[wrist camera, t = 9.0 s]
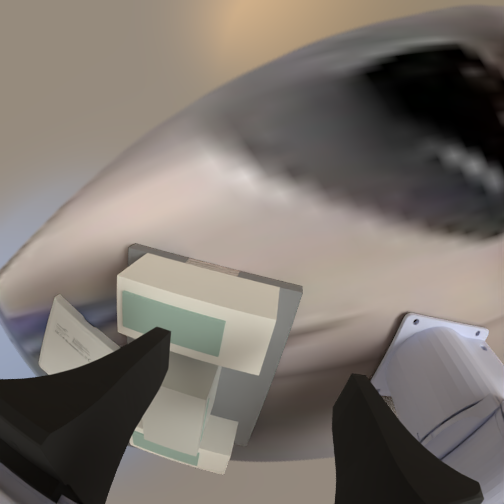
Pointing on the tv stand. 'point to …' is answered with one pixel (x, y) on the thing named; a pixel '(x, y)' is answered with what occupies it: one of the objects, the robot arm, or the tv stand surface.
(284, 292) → the rail panel
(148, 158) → the tv stand surface
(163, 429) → the block
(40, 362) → the external hard drive
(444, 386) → the robot arm
